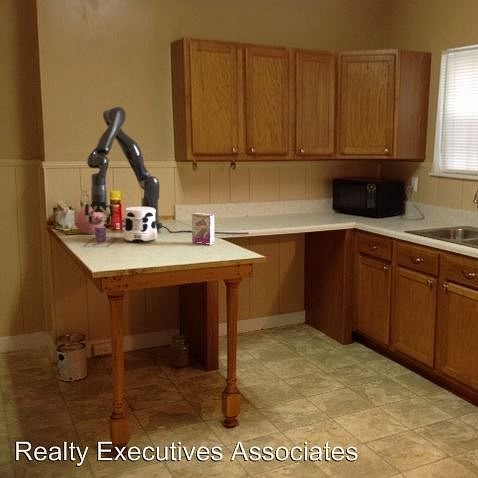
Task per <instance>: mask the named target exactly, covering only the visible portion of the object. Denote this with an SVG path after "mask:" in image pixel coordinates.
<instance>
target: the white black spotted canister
mask: <svg viewBox="0 0 478 478" xmlns="http://www.w3.org/2000/svg"><path fill="white" fill-rule="evenodd" d="M124 222H125V223H124V228H123V238H124V239H125V241H127V242H129V243H135V244H141V243H142V244H145V243H150V242H154V241H155V240H156V239H157V236H158V233H157V229H156V225H155V209H154V208H152V207H142V206H130V207H125V210H124Z"/></svg>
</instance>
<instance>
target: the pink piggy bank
mask: <svg viewBox="0 0 478 478" xmlns="http://www.w3.org/2000/svg"><path fill="white" fill-rule="evenodd" d="M92 210H93V209H92V207H91V206H90V208H89V213H90V212H91V211H92ZM92 216H93V223H92V224H90V222H89V216H87V215H85V207H83V208H81V209H80V210H79V211H78V212H77V213H76V215H75V217H74V224H75V226H76V229H77V230H78V231H79V232H80V233H82V234H85V235H95V232H96V231H95V227H97V226H105V216H104V215H103V212H102V213H100V212H94V214H93V215H92Z"/></svg>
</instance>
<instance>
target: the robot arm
mask: <svg viewBox="0 0 478 478" xmlns="http://www.w3.org/2000/svg"><path fill="white" fill-rule="evenodd" d="M102 119H103V121H104V124H105V125H106V126H107V127H106V129H105V130H104V131H103V132H102V133H101V135H100V136H99V138H98V140H97V143H96V146H95V147H94V149H92V151H91V152H90V153H89V155H88V157H87V159H86V164H87V166H88V167H89V168H90V169H97V170H98V171H97V172H93V173H92V174H91V176H90V177H91V178H90V179H91V183H90V185H91V186H90V194H91V195H90V196H91V197H90V198H91V199H90V201H91V203H85V204H84V208H85V215H87V216H89V222H90V224H92V223H93V216H92V215H93V214H94V212H100V213H102V214H104V215H105V216H106V225H109V224H110V223H111V217H113V216H114V215H115V213H114V212H115V211H114V210H115V209H114V205H113V204H108V199H107V191H108V190H107V185H106V184H107V183H106V182H107V180H106V177H107V173H108V168H109V164H110V161H109V158H108V155H109V154H110V151H111V150H112V149H111V148H112V146H113V143H114V141H115V140H116V142H117V144H118V146H119V147H120V149H121V152H122V154H123V155H124V158H125V159H126V160H127V163H128V164H129V166H130V168H131V169H132V171H133V174H134V175H135V178H136V180H137V183H138V185H139V187H140V188H141V190H143V197H142V198H141V207H152V208H154V209H155V225H156V229H157V234H159V232H160V230H161V229H162V228H163V229H166V230H167V232H168V233H171V234H178V233H192V230H178V231H172V230H170V229H169V227H167V226H165V225H163V223H162V222H160V215H159V200H160V181H159V179H158V177H156V176H154V175H151V174H150V173H149V171H148V170H147V167H146V165H145V161H144V155H143V152H142V150H141V148H140V146H139V144H138V142H136V140H135V139H134V138H132V137H131V136H130V135H128V134H127V133H126V132H125V131H124V130H123V128H122V127H123V125H124V123H125V122H126V120H127V113H126V110H125V109H124V108H123V107H122V106H114V107H111V108H107V109H104V110H103V112H102ZM90 207H92V209H93V210H92V211H91V212H90V213H89V208H90ZM107 208H108V209H109V211H108V209H107ZM214 234H220V235H221V234H224V235H249V232H248V231H247V232H244V231H243V232H233V231H232V232H228V231H227V232H225V231H214Z"/></svg>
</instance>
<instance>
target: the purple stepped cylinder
mask: <svg viewBox="0 0 478 478" xmlns="http://www.w3.org/2000/svg"><path fill="white" fill-rule="evenodd" d="M96 236H97V237H104V236H106V237H107V230H106V231H104V232H95V234H94V237H96Z"/></svg>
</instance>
